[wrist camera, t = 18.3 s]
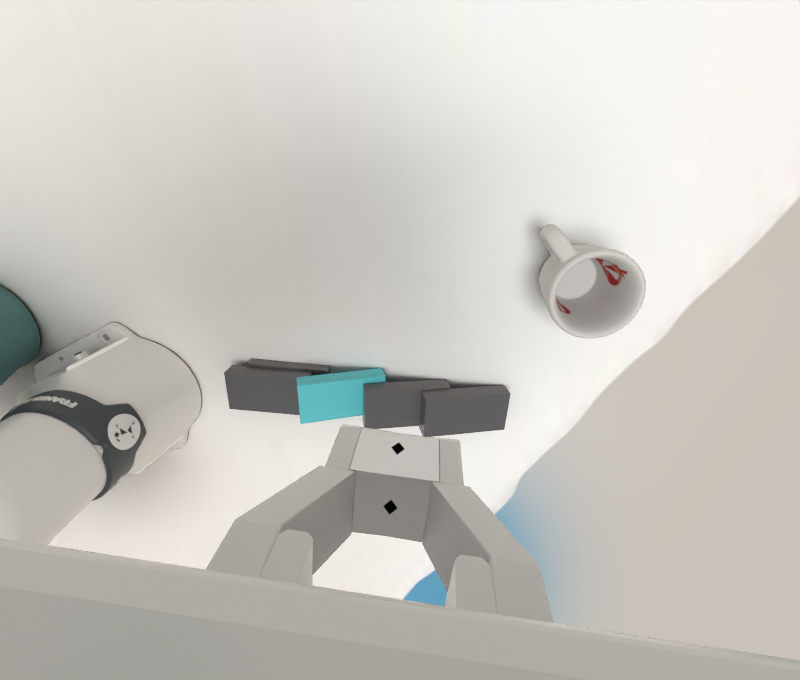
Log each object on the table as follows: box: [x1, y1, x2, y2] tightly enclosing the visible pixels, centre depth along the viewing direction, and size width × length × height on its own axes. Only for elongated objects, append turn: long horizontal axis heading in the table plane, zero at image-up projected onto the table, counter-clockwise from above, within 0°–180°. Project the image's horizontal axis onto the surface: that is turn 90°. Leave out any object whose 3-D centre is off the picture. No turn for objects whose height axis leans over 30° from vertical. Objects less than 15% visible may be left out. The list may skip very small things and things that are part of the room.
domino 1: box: [246, 359, 330, 375], centre depth 49 cm, size 2×5×10 cm
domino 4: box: [419, 385, 510, 437], centre depth 46 cm, size 2×5×10 cm
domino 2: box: [224, 365, 313, 415], centre depth 47 cm, size 2×5×10 cm
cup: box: [539, 224, 646, 338], centre depth 37 cm, size 11×8×8 cm
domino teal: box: [296, 368, 385, 424], centre depth 46 cm, size 2×5×10 cm
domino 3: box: [363, 379, 451, 429], centre depth 46 cm, size 2×5×10 cm
